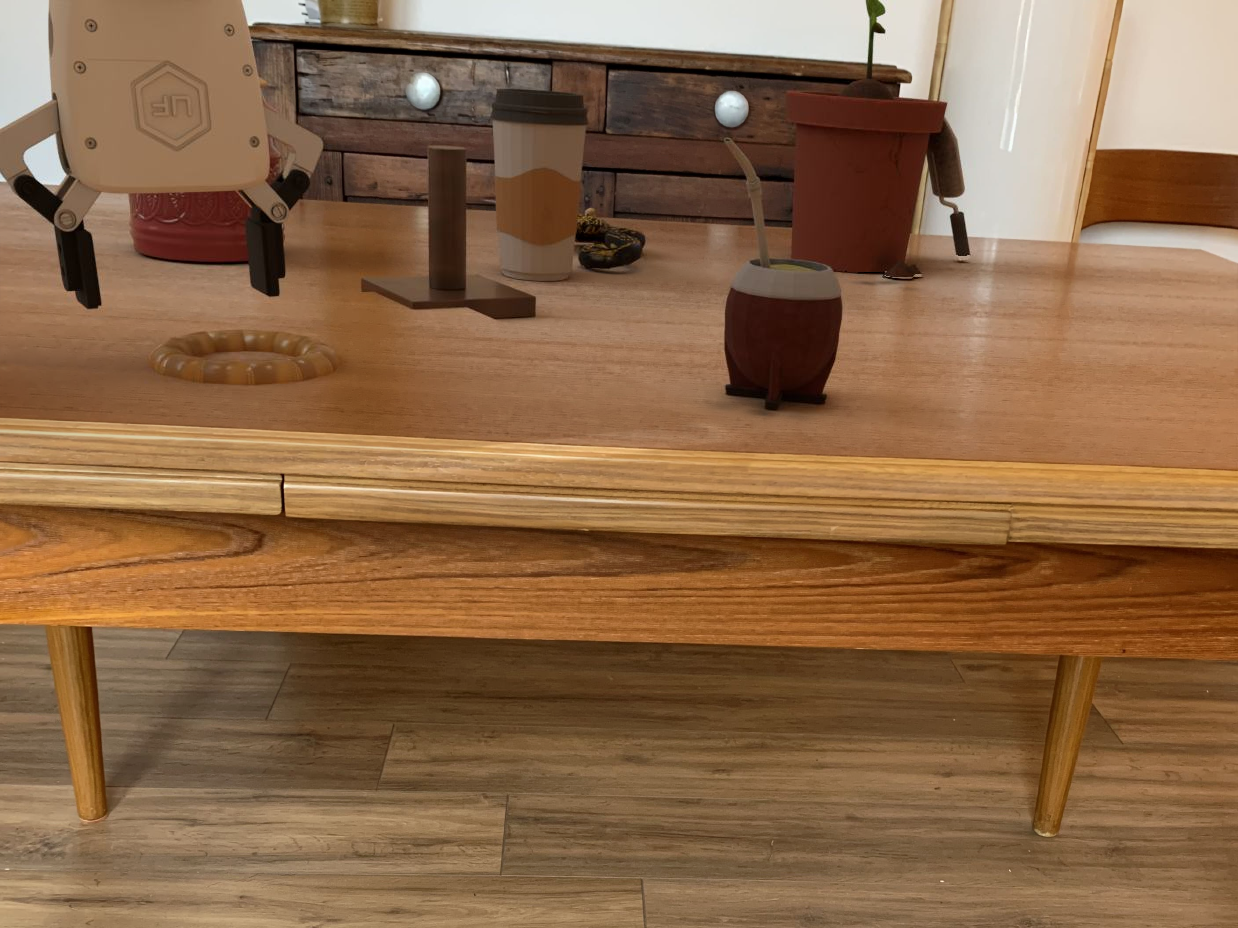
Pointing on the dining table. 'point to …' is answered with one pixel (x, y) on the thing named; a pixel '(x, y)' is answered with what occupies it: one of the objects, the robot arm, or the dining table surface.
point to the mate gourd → (779, 320)
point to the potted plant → (868, 172)
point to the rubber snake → (606, 243)
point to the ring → (184, 363)
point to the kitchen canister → (196, 220)
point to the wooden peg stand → (451, 253)
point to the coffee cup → (537, 180)
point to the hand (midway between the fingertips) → (180, 298)
